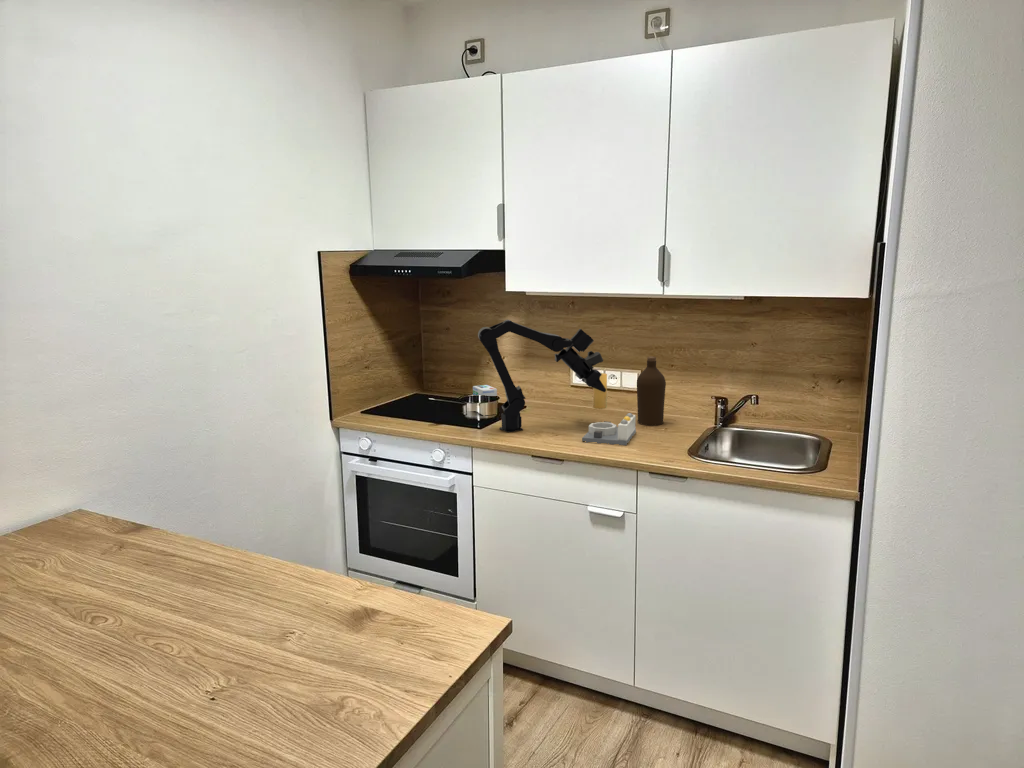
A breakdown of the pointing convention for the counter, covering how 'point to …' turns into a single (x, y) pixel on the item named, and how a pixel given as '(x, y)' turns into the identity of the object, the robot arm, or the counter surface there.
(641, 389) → the olive oil
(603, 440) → the ball rail dock
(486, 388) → the light bulb box
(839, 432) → the counter surface
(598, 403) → the cap
